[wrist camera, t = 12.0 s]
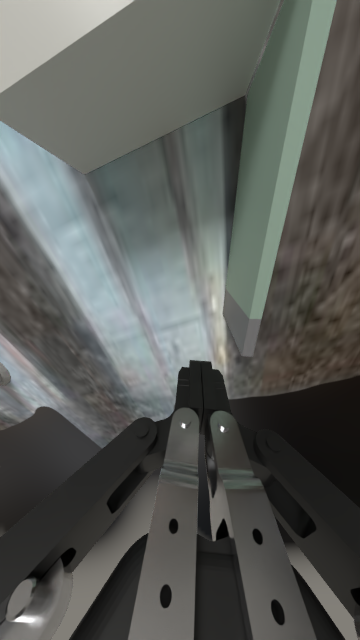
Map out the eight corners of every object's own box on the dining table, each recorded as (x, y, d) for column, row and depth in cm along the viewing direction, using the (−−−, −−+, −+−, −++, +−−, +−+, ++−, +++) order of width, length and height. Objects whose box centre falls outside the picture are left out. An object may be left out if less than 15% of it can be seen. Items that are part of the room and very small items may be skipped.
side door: (247, 95, 14) (342, -150, 5) (258, 94, 14) (372, -154, 5) (222, 314, 24) (242, 356, 15) (229, 314, 24) (252, 356, 15)
